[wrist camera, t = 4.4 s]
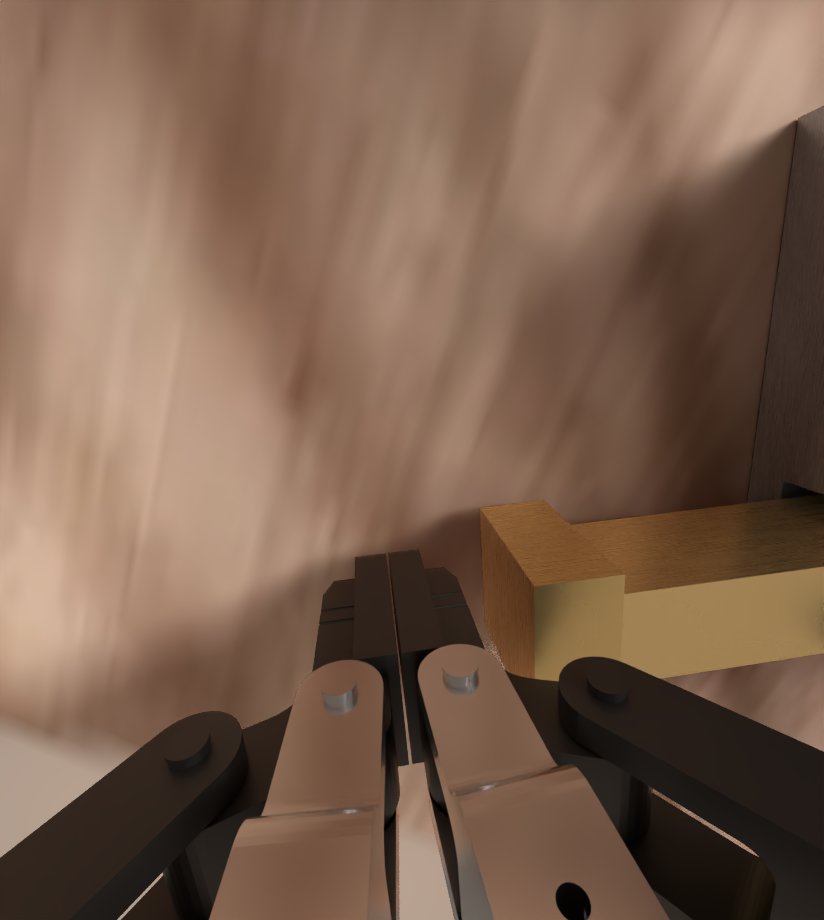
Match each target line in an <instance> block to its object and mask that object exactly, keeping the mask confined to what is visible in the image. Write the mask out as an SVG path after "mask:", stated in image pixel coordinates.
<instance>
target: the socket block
mask: <svg viewBox="0 0 824 920" xmlns="http://www.w3.org/2000/svg"><path fill="white" fill-rule="evenodd" d="M817 494H823V495H824V106H822V107H820V108H818V109H816V110H814V111H812V112H810V113H808V114H806V115H804V116H802V117H800V118H798V124H797V131H796V139H795V146H794V154H793V161H792V169H791V176H790V184H789V191H788V199H787V206H786V214H785V221H784V229H783V236H782V244H781V251H780V259H779V267H778V274H777V282H776V289H775V297H774V304H773V312H772V319H771V327H770V334H769V342H768V349H767V357H766V364H765V372H764V379H763V387H762V394H761V402H760V409H759V417H758V425H757V432H756V440H755V447H754V455H753V462H752V470H751V477H750V485H749V492H748V500H747V503H752V502H760V501H768V500H777V499H785V498H793V497H801V496H809V495H817Z"/></svg>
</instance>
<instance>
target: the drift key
mask: <svg viewBox="0 0 824 920" xmlns="http://www.w3.org/2000/svg"><path fill="white" fill-rule="evenodd" d="M480 521H481V546H482V570H483V594H484V619H485V623H486V625H487V628H488V630H489V632H490V634H491V637H492V639H493V641H494V644H495V646H496V648H497V651H498V653H499V655H500V657H501V660H502V662H503V664H504V667H505V669H506V671H508V672H510V673H512V674H515V675H518V676H522V677H526V678H532V679H541V680H550V681H559V675H560V673H561V671H562V669H563V668H564V667H565V666H566V665H567V664H568V663H570V662H572V661H573V660H576V659H579V658H583V657H593V656H595V657H605V658H611V659H614V660H618V661H621V662H623V663H626V664H628V665H630V666H633V667H635V668H637V669H639V670H642V671H644V672H646V673H648V674H650V675H653V676H655V677H657V678H659V679H662V678H668V677H675V676H681V675H688V674H694V673H700V672H707V671H713V670H720V669H726V668H733V667H739V666H745V665H752V664H758V663H765V662H771V661H778V660H784V659H790V658H797V657H803V656H810V655H816V654H823V653H824V495H823V494H817V495H809V496H801V497H793V498H785V499H777V500H768V501H760V502H752V503H744V504H736V505H728V506H720V507H712V508H703V509H695V510H687V511H679V512H671V513H663V514H655V515H647V516H638V517H630V518H622V519H614V520H606V521H598V522H590V523H582V524H573V525H570V524H569V523H568V522H567V521H566V520H565V519H564V518H562V517H561V516H560V515H559V514H558V513H557V512H556V511H555V510H554V509H552V508H551V507H550V506H549V505H548V504H547V503H546V502H545V501H544V500H542V501H533V502H525V503H516V504H508V505H499V506H491V507H482V508H480Z"/></svg>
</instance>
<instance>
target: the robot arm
mask: <svg viewBox="0 0 824 920" xmlns="http://www.w3.org/2000/svg"><path fill="white" fill-rule="evenodd" d="M388 556H389V566H390V576H391V585H392V595H393V605H394V614H395V623H396V632H397V641H398V649H399V657H400V665H401V673H402V682H403V690H404V698H405V706H406V714H407V722H408V731H409V739H410V747H411V755H412V763H413V764H415V763H421V762H424V763H425V770H426V777H427V784H428V795H429V805H430V812H431V817H432V821H433V826H434V830H435V834H436V839H437V843H438V848H439V852H440V857H441V861H442V866H443V870H444V874H445V879H446V884H447V888H448V893H449V897H450V901H451V906H452V910H453V915H454V919H455V920H824V752H823V751H821V750H818V749H816V748H814V747H812V746H809V745H807V744H805V743H803V742H800V741H798V740H796V739H794V738H792V737H789V736H787V735H785V734H783V733H780V732H778V731H776V730H774V729H771V728H769V727H767V726H765V725H762V724H760V723H758V722H756V721H753V720H751V719H749V718H747V717H744V716H742V715H740V714H738V713H736V712H733V711H731V710H729V709H727V708H724V707H722V706H720V705H718V704H715V703H713V702H711V701H709V700H706V699H704V698H702V697H700V696H697V695H695V694H693V693H691V692H689V691H686V690H684V689H682V688H680V687H677V686H675V685H673V684H671V683H668V682H666V681H664V680H662V679H659V678H657V677H655V676H653V675H650V674H648V673H646V672H644V671H642V670H639V669H637V668H635V667H633V666H630V665H628V664H626V663H623V662H621V661H618V660H614V659H611V658H605V657H595V656H593V657H583V658H579V659H576V660H573V661H572V662H570V663H568V664H567V665H566V666H565V667H564V668H563V669H562V671H561V673H560V675H559V681H550V680H541V679H532V678H526V677H522V676H518V675H515V674H512V673H510V672H508V671H506V670H504V668H503V667H502V665H501V663H500V662H499V660H498V659H497V658H496V657H495V656H494V655H493V654H491V653H490V652H489V651H487V650H485V648H484V646H483V643H482V641H481V638H480V636H479V633H478V631H477V628H476V626H475V623H474V621H473V618H472V616H471V613H470V610H469V608H468V605H467V604H466V600H465V598H464V595H463V594H462V590H461V588H460V585H459V583H458V580H457V578H456V577H455V576H454V575H452V574H451V573H450V572H449V571H447V570H446V569H445V568H443V567H441V568H433V569H425V570H424V568H423V564H422V561H421V557H420V553H419V550H418V549H417V550H409V551H401V552H393V553H388ZM319 623H320V626H319V629H318V636H317V643H316V651H315V658H314V665H313V672H312V673H311V674H310V675H308V676H307V677H306V678H305V679H304V681H303V682H302V683H301V685H300V686H299V688H298V690H297V692H296V695H295V699H294V703H293V705H292V706H290V707H289V708H288V709H286V710H285V711H283V712H281V713H280V714H278V715H276V716H274V717H272V718H270V719H267V720H265V721H262V722H260V723H258V724H255V725H253V726H250V727H248V728H246V729H243V730H242V729H241V726H240V724H239V722H238V721H237V719H236V718H234V717H233V716H232V715H230V714H227V713H224V712H219V711H210V712H202V713H198V714H194V715H192V716H189V717H186V718H184V719H182V720H180V721H178V722H176V723H174V724H172V725H171V726H169V727H168V728H166V729H165V730H164V731H162V732H161V733H159V734H158V735H157V736H156V737H154V738H153V739H152V740H151V741H149V742H148V743H147V744H145V745H144V746H143V747H142V748H140V749H139V750H138V751H136V752H135V753H134V754H133V755H131V756H130V757H129V758H127V759H126V760H125V761H124V762H122V763H121V764H120V765H119V766H117V767H116V768H115V769H113V770H112V771H111V772H110V773H108V774H107V775H106V776H104V777H103V778H102V779H101V780H99V781H98V782H97V783H95V784H94V785H93V786H92V787H90V788H89V789H88V790H87V791H85V792H84V793H83V794H81V795H80V796H79V797H78V798H76V799H75V800H74V801H73V802H71V803H70V804H69V805H67V806H66V807H65V808H63V809H62V810H61V811H60V812H58V813H57V814H56V815H55V816H53V817H52V818H51V819H49V820H48V821H47V822H46V823H44V824H43V825H42V826H40V827H39V828H38V829H37V830H35V831H34V832H33V833H32V834H30V835H29V836H28V837H27V838H25V839H24V840H23V841H21V842H20V843H19V844H17V845H16V846H15V847H14V848H12V849H11V850H10V851H9V852H7V853H6V854H5V855H3V856H2V857H1V858H0V920H117V919H118V918H119V917H120V916H121V915H122V914H123V913H124V912H125V911H126V909H127V908H128V907H129V906H130V905H131V904H132V903H133V902H134V901H135V900H136V899H137V898H138V897H139V896H140V895H141V894H142V893H143V892H144V891H145V890H146V889H147V888H148V886H150V885H151V884H152V882H153V881H154V880H155V879H156V878H157V877H158V876H159V875H160V874H161V873H162V872H163V876H162V877H161V878H160V879H159V881H158V882H157V883H156V884H155V885H154V886H153V887H152V888H151V889H150V890H149V891H148V892H147V893H146V894H145V895H144V896H143V897H142V898H141V899H140V900H139V902H137V904H136V905H135V906H134V907H133V908H132V909H131V910H130V911H129V912H128V913H127V914H126V915H125V916H124V917H123V918H122V919H121V920H399V815H398V806H397V805H398V802H399V796H400V787H399V776H398V766H404V765H409V761H408V751H407V742H406V732H405V722H404V713H403V703H402V694H401V684H400V675H399V665H398V655H397V647H396V638H395V629H394V621H393V612H392V604H391V595H390V587H389V578H388V569H387V561H386V554H377V555H369V556H361V557H355V579H348V580H340V581H334V582H333V583H332V585H331V586H330V587H329V588H328V590H327V591H326V592H325V594H324V595H323V601H322V608H321V615H320V622H319ZM652 789H655V790H657V791H658V792H660V793H662V794H663V795H665V796H666V797H668V798H670V799H671V800H673V801H675V802H676V803H678V804H680V805H681V806H683V807H684V808H686V809H688V810H689V811H691V812H693V813H694V814H696V815H698V816H699V817H701V818H703V819H704V820H706V821H707V822H709V823H711V824H712V825H714V826H716V827H717V828H719V829H721V830H722V831H724V832H725V833H727V834H729V835H730V836H732V837H734V838H735V839H737V840H739V841H740V842H742V843H743V844H745V845H746V846H747V847H749V848H750V849H751V850H752V851H754V852H755V853H756V854H757V855H758V856H759V857H758V856H755V855H753V854H751V853H750V852H748V851H746V850H745V849H743V848H741V847H740V846H738V845H736V844H735V843H733V842H732V841H730V840H728V839H727V838H725V837H723V836H722V835H720V834H719V833H717V832H715V831H714V830H712V829H710V828H709V827H707V826H706V825H704V824H702V823H701V822H699V821H698V820H696V819H694V818H693V817H691V816H689V815H688V814H686V813H685V812H683V811H681V810H680V809H678V808H676V807H675V806H673V805H672V804H670V803H668V802H667V801H665V800H663V799H662V798H660V797H659V796H657V795H655V794H654V793H652Z"/></svg>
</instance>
